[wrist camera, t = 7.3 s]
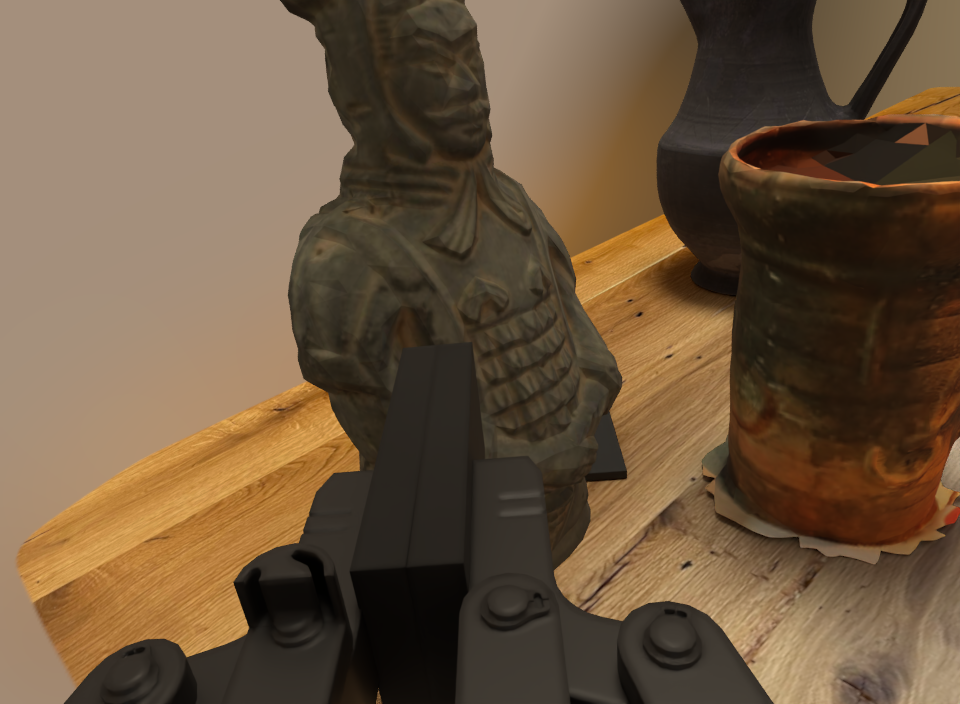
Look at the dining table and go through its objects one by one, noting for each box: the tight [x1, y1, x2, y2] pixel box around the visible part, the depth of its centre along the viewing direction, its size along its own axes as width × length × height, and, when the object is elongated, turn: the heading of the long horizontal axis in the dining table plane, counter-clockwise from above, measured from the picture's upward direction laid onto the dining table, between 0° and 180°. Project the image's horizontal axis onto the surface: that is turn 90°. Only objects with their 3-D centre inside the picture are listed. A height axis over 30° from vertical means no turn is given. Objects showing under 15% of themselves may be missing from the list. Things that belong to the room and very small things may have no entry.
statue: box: [280, 0, 622, 606], centre depth 25 cm, size 11×9×30 cm
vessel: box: [702, 114, 960, 565], centre depth 36 cm, size 14×14×20 cm
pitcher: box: [657, 0, 927, 295], centre depth 63 cm, size 17×21×30 cm
